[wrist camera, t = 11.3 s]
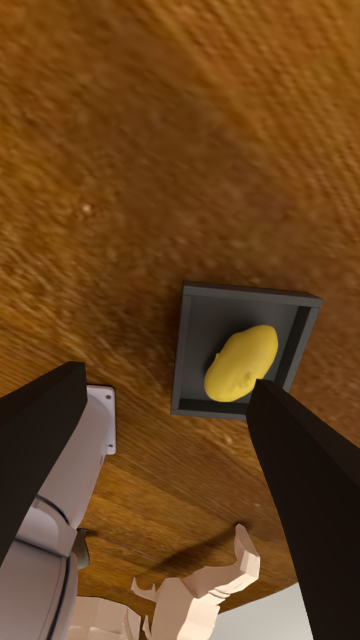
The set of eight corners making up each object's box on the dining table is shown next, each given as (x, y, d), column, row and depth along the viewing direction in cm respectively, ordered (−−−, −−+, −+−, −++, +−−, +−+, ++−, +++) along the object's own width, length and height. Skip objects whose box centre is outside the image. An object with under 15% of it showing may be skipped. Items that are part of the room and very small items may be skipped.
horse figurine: (169, 516, 43) (267, 533, 28) (140, 656, 31) (284, 825, 16) (151, 507, 42) (242, 520, 27) (113, 650, 30) (241, 824, 15)
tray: (268, 406, 21) (277, 422, 19) (171, 399, 20) (170, 414, 19) (307, 292, 16) (323, 298, 14) (183, 280, 16) (183, 285, 14)
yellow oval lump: (189, 371, 19) (191, 402, 15) (247, 306, 16) (266, 324, 13) (222, 392, 20) (232, 426, 16) (282, 333, 17) (310, 358, 14)
